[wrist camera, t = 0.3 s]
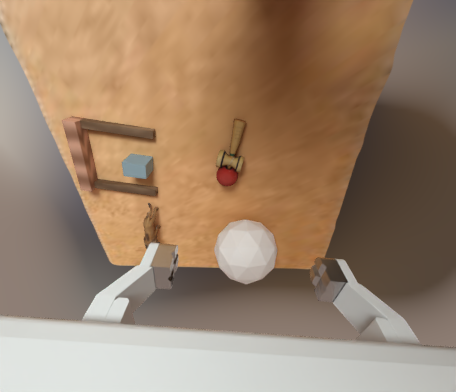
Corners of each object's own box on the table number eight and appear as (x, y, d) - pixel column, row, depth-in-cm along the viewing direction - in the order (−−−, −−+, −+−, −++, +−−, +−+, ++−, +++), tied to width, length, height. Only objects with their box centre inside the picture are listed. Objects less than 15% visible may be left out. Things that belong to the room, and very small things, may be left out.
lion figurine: (166, 234, 76) (159, 254, 68) (152, 235, 76) (143, 254, 69) (156, 201, 68) (147, 219, 60) (140, 202, 68) (129, 220, 61)
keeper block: (131, 153, 59) (121, 162, 54) (152, 156, 59) (145, 165, 54) (132, 166, 61) (123, 175, 56) (153, 169, 61) (146, 179, 56)
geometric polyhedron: (229, 217, 80) (194, 234, 63) (278, 208, 68) (250, 227, 52) (242, 264, 80) (210, 294, 64) (293, 264, 69) (270, 299, 52)
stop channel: (72, 116, 54) (61, 120, 50) (155, 129, 55) (150, 133, 52) (88, 183, 64) (81, 190, 61) (157, 192, 66) (153, 199, 62)
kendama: (222, 115, 54) (210, 179, 62) (226, 118, 49) (212, 188, 56) (250, 121, 56) (235, 182, 64) (257, 124, 51) (240, 191, 58)
